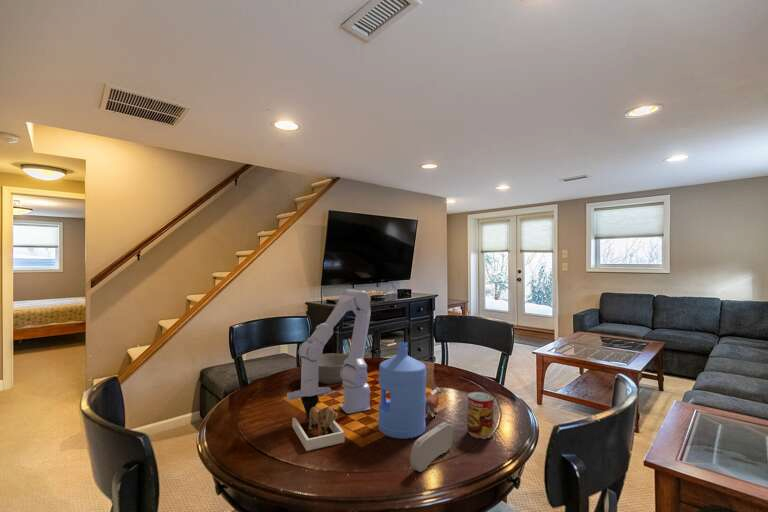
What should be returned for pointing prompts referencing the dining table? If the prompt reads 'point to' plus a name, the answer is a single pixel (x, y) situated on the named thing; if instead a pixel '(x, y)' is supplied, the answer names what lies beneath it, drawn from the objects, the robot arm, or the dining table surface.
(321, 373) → the ceramic bowl
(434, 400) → the bull figurine
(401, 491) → the dining table surface
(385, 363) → the water jug
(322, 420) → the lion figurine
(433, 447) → the grey rounded slab
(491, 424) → the canned food
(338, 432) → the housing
